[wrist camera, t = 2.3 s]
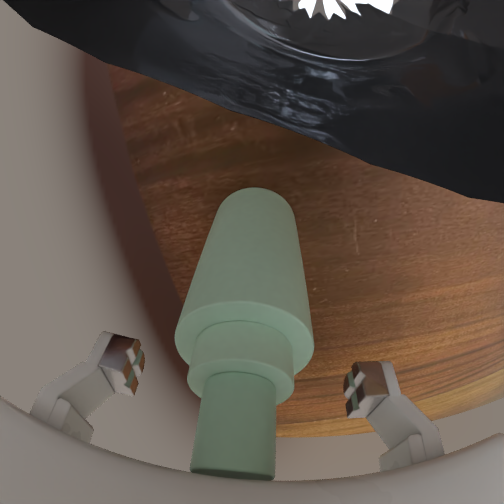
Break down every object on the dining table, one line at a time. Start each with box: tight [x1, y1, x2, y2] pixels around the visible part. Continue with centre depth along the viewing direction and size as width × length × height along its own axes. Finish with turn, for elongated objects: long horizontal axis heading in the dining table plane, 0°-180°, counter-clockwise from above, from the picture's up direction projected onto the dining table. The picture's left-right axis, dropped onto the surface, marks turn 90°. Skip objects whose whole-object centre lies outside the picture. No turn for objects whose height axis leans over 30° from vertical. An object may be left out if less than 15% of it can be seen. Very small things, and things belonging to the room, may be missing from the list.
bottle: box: [175, 187, 314, 481], centre depth 12 cm, size 5×5×15 cm
